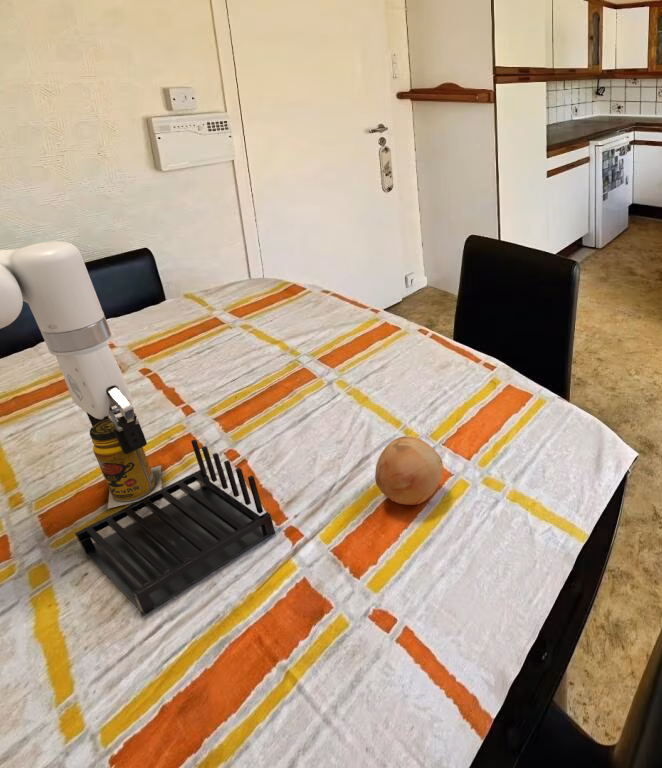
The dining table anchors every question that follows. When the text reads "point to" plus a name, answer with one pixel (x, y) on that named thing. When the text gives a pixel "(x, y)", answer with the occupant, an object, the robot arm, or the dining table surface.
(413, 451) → the onion
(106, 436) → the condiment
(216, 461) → the dish rack
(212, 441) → the dining table surface
